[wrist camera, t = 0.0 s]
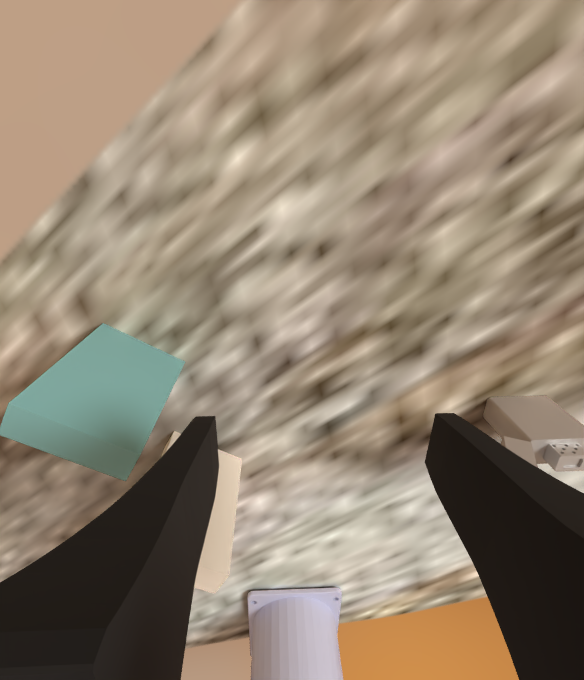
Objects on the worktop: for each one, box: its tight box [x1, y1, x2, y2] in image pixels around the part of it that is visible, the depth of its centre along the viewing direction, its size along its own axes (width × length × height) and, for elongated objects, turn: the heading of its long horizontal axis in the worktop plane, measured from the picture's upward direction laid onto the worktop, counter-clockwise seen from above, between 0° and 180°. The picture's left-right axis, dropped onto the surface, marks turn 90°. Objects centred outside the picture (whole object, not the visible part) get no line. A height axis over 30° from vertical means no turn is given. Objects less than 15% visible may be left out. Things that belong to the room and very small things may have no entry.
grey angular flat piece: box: [483, 395, 584, 472], centre depth 20 cm, size 7×2×8 cm, turn 90°
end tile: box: [0, 323, 185, 481], centre depth 18 cm, size 2×5×8 cm, turn 59°
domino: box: [161, 431, 242, 594], centre depth 21 cm, size 2×5×8 cm, turn 59°
